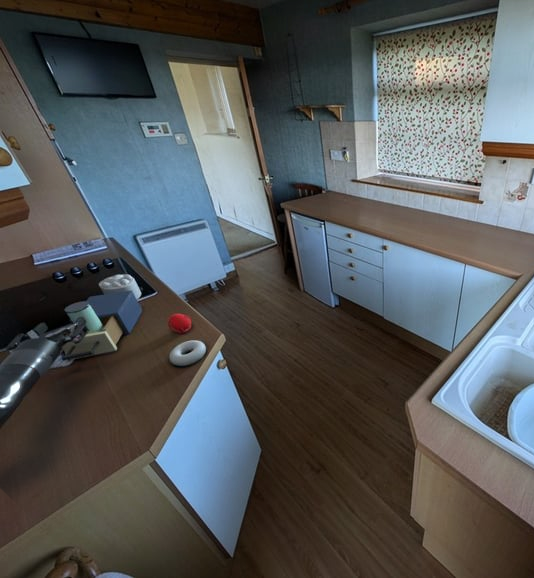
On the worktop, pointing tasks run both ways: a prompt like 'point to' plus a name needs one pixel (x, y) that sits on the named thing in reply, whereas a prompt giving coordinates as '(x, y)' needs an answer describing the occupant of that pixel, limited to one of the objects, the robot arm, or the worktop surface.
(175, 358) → the donut
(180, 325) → the red rounded lump
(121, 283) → the lumpy-topped squat cylinder
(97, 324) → the tin
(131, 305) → the cabinet
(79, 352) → the drawer
